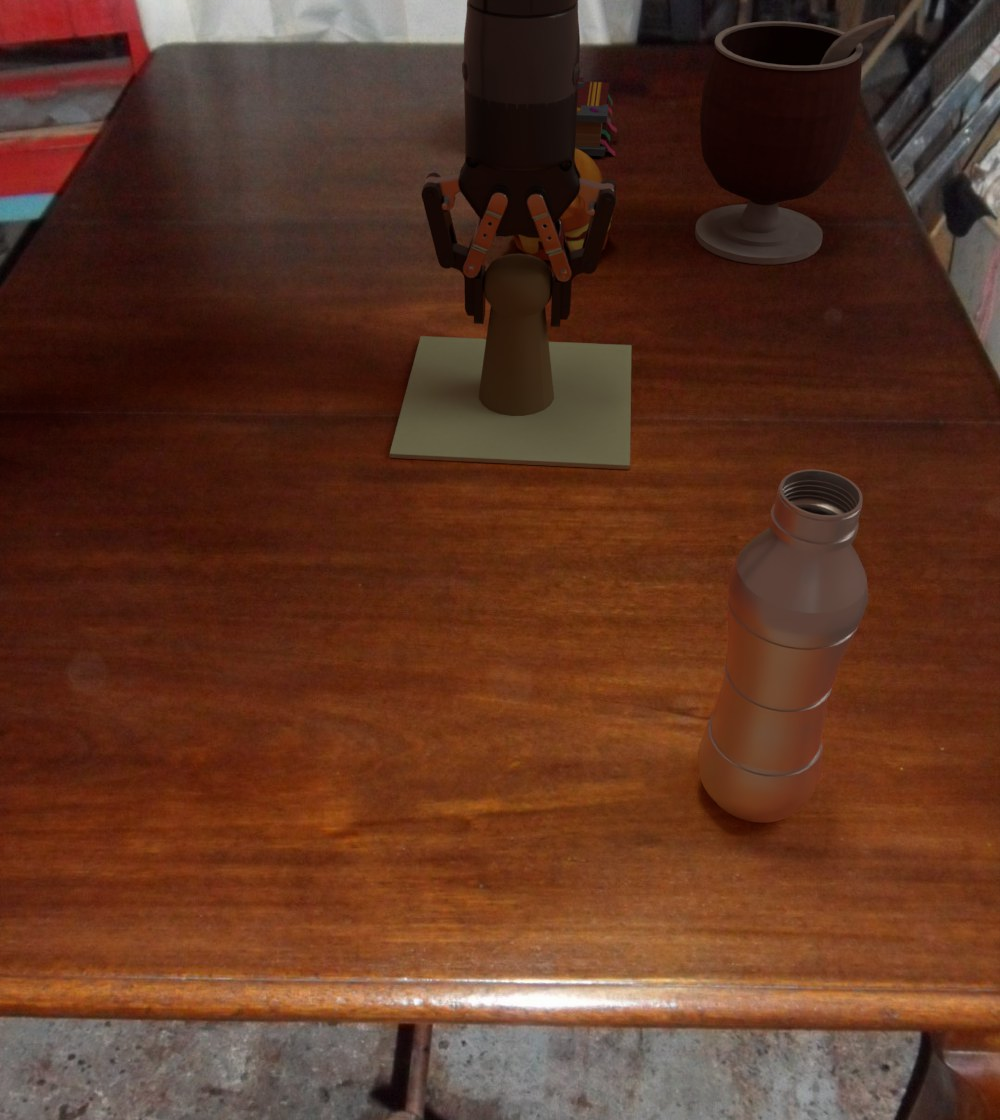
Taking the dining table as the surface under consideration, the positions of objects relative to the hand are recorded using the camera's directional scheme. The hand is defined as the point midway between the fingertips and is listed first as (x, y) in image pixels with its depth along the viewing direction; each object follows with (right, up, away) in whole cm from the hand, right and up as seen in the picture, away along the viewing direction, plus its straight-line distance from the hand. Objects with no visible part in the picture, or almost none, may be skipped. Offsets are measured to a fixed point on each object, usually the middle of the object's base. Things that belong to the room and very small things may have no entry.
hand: (517, 319), depth 90 cm
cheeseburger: (+4, +15, +24) cm, 29 cm away
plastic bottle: (+13, -35, -24) cm, 44 cm away
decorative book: (+4, +35, +44) cm, 56 cm away
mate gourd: (+25, +17, +26) cm, 39 cm away
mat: (0, -5, +5) cm, 7 cm away
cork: (0, -5, +5) cm, 7 cm away
